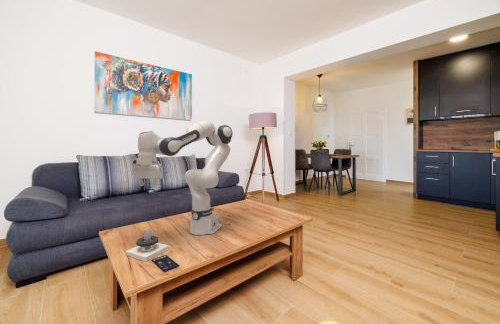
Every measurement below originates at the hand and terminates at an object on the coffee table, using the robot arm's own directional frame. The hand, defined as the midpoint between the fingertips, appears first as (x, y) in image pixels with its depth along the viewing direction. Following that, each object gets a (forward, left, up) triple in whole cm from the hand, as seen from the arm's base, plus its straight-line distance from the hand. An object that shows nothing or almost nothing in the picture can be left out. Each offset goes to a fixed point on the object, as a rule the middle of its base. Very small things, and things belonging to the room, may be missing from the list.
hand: (147, 186), depth 121 cm
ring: (+9, +10, -25) cm, 29 cm away
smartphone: (+13, +26, -32) cm, 43 cm away
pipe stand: (+9, +10, -31) cm, 34 cm away
